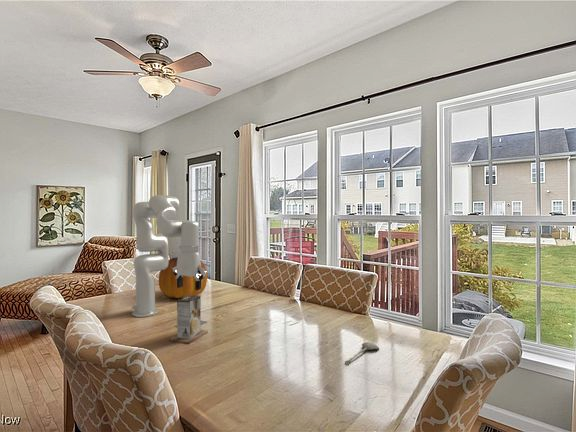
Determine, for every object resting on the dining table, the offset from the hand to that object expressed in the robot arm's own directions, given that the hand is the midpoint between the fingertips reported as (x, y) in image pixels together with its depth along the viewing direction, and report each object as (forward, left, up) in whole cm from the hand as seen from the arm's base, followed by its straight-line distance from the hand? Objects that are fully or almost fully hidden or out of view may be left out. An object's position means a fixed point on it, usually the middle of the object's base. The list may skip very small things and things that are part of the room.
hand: (188, 288), depth 137 cm
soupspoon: (+73, +10, -22) cm, 77 cm away
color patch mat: (-9, +13, -21) cm, 26 cm away
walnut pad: (0, 0, -21) cm, 21 cm away
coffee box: (0, 0, -21) cm, 20 cm away
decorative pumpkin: (-47, +54, -21) cm, 74 cm away
